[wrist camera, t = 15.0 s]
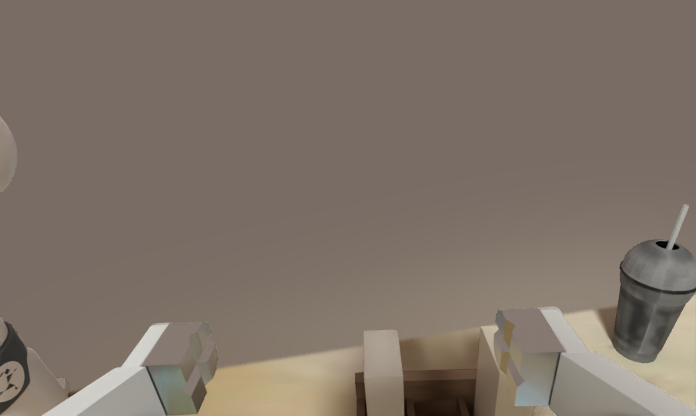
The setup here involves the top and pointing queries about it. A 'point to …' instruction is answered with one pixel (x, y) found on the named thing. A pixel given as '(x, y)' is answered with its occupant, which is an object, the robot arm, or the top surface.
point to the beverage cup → (652, 295)
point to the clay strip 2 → (493, 382)
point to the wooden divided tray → (431, 392)
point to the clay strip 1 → (383, 373)
